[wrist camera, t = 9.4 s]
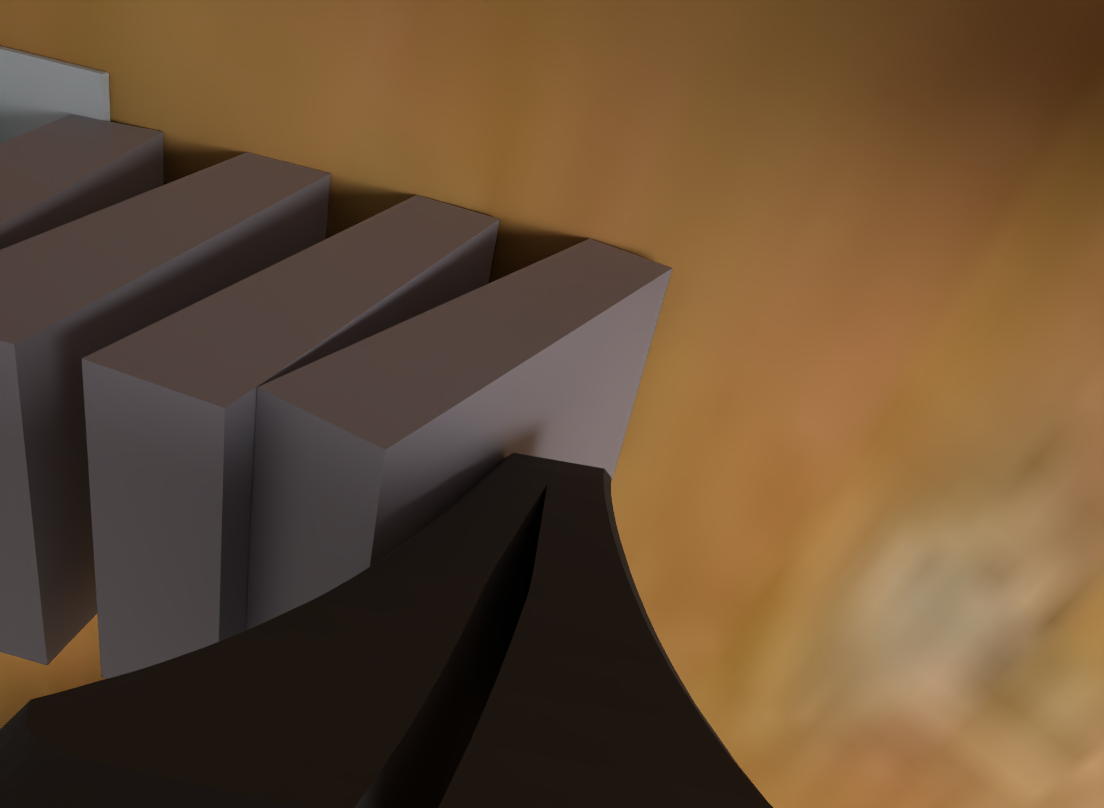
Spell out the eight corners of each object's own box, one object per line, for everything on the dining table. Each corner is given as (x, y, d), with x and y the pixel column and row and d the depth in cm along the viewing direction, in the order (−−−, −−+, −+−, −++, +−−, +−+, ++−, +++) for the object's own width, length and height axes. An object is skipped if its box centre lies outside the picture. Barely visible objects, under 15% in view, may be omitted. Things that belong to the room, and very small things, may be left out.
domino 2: (330, 173, 16) (14, 344, 9) (314, 386, 18) (47, 664, 11) (246, 152, 16) (-138, 304, 9) (238, 366, 18) (-74, 630, 11)
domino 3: (500, 218, 15) (224, 408, 8) (462, 431, 17) (216, 723, 10) (416, 195, 16) (80, 358, 9) (388, 405, 18) (102, 676, 11)
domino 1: (163, 132, 16) (-128, 298, 9) (165, 347, 18) (-66, 622, 11) (71, 114, 16) (-302, 269, 9) (84, 334, 18) (-206, 605, 11)
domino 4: (672, 268, 15) (384, 449, 8) (612, 479, 17) (344, 758, 10) (589, 238, 15) (257, 387, 9) (541, 446, 17) (243, 693, 11)
